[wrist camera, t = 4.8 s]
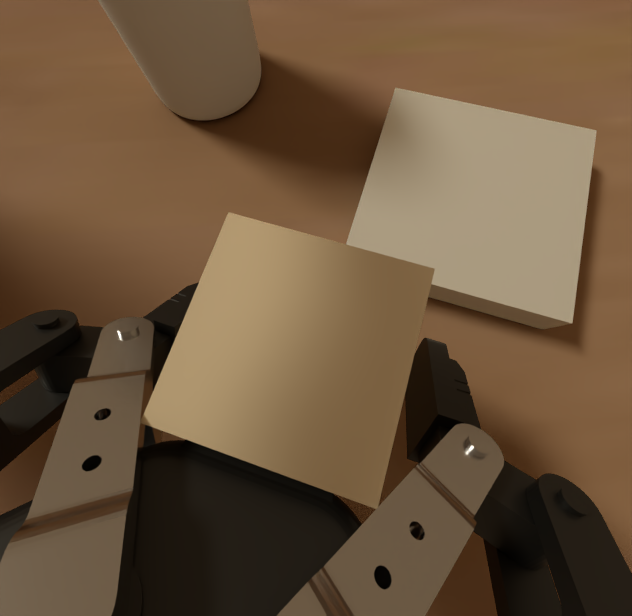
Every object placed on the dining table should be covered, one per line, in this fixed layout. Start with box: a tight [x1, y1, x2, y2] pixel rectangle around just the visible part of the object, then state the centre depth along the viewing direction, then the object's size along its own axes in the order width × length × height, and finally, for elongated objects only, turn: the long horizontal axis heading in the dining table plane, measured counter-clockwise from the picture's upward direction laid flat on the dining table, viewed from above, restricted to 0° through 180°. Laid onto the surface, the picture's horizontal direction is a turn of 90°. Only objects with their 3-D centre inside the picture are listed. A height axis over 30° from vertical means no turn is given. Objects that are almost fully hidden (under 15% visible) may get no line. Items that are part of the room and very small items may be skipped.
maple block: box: [141, 212, 435, 509], centre depth 11 cm, size 4×4×11 cm
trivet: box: [346, 88, 596, 330], centre depth 17 cm, size 12×12×2 cm
